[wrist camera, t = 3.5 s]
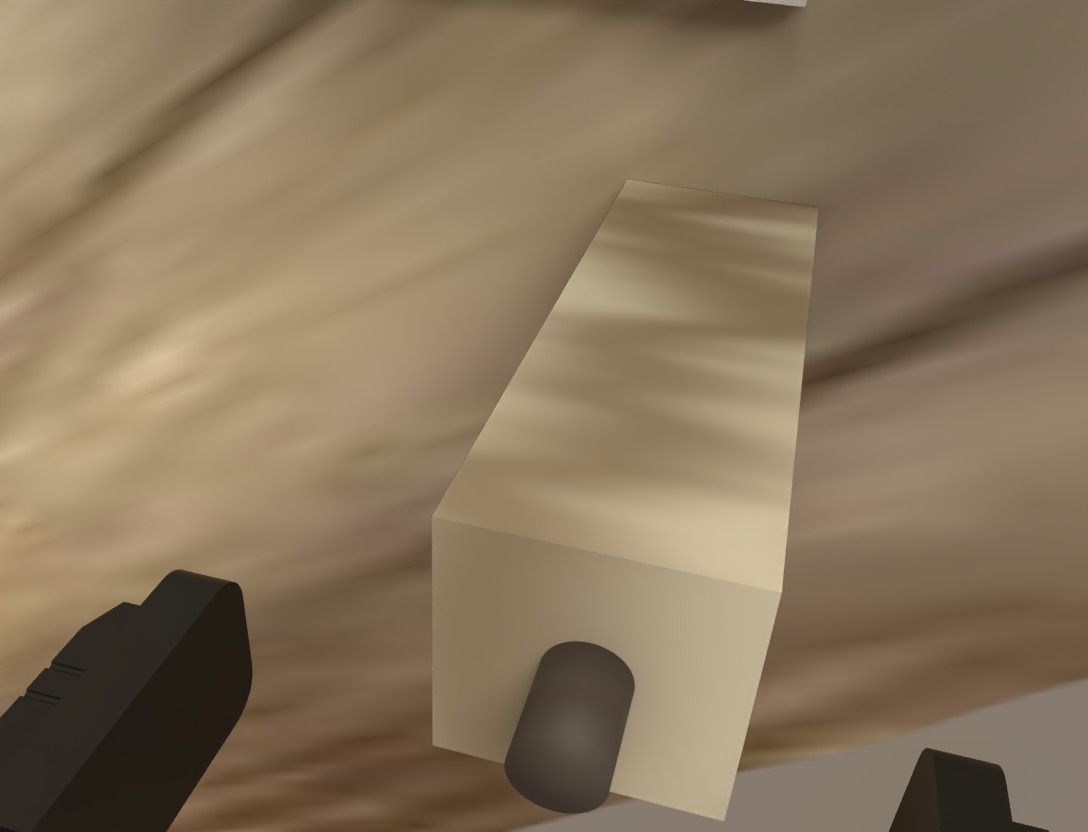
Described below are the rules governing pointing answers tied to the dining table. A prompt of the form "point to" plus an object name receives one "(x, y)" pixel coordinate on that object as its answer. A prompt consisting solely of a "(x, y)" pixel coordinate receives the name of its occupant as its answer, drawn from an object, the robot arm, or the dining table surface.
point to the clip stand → (784, 2)
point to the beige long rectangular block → (631, 512)
